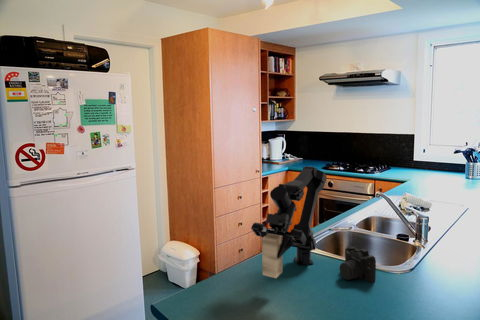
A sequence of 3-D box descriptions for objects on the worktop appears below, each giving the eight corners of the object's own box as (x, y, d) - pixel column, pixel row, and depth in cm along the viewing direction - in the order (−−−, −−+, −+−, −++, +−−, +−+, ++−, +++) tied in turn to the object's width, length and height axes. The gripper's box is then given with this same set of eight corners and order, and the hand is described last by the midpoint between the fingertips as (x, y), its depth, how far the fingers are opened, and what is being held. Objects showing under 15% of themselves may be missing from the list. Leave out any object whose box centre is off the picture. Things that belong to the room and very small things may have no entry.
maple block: (269, 269, 126) (269, 233, 124) (282, 272, 123) (282, 235, 121) (262, 274, 122) (262, 237, 120) (276, 278, 119) (275, 240, 117)
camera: (330, 271, 139) (330, 246, 137) (352, 266, 143) (353, 242, 141) (354, 287, 126) (355, 260, 125) (378, 281, 130) (379, 255, 129)
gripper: (253, 200, 127) (237, 240, 119) (303, 207, 117) (289, 251, 110) (263, 215, 135) (249, 254, 127) (311, 223, 125) (299, 266, 118)
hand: (270, 256), depth 120 cm, fingers closed on maple block, 5 cm apart
